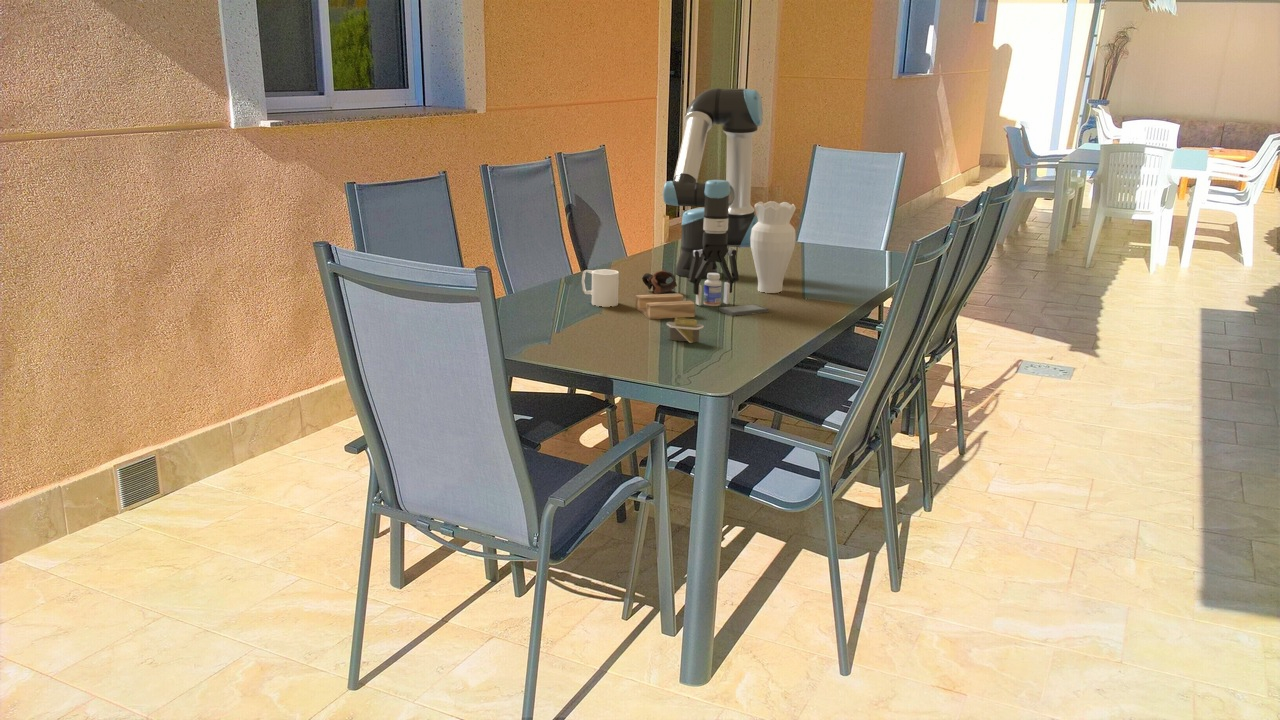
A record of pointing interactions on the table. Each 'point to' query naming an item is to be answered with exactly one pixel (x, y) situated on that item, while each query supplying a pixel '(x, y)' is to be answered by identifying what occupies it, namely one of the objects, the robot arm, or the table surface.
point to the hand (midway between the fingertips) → (712, 303)
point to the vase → (772, 243)
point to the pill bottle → (712, 290)
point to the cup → (603, 287)
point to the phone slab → (743, 309)
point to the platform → (684, 330)
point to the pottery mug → (659, 281)
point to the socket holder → (664, 306)
